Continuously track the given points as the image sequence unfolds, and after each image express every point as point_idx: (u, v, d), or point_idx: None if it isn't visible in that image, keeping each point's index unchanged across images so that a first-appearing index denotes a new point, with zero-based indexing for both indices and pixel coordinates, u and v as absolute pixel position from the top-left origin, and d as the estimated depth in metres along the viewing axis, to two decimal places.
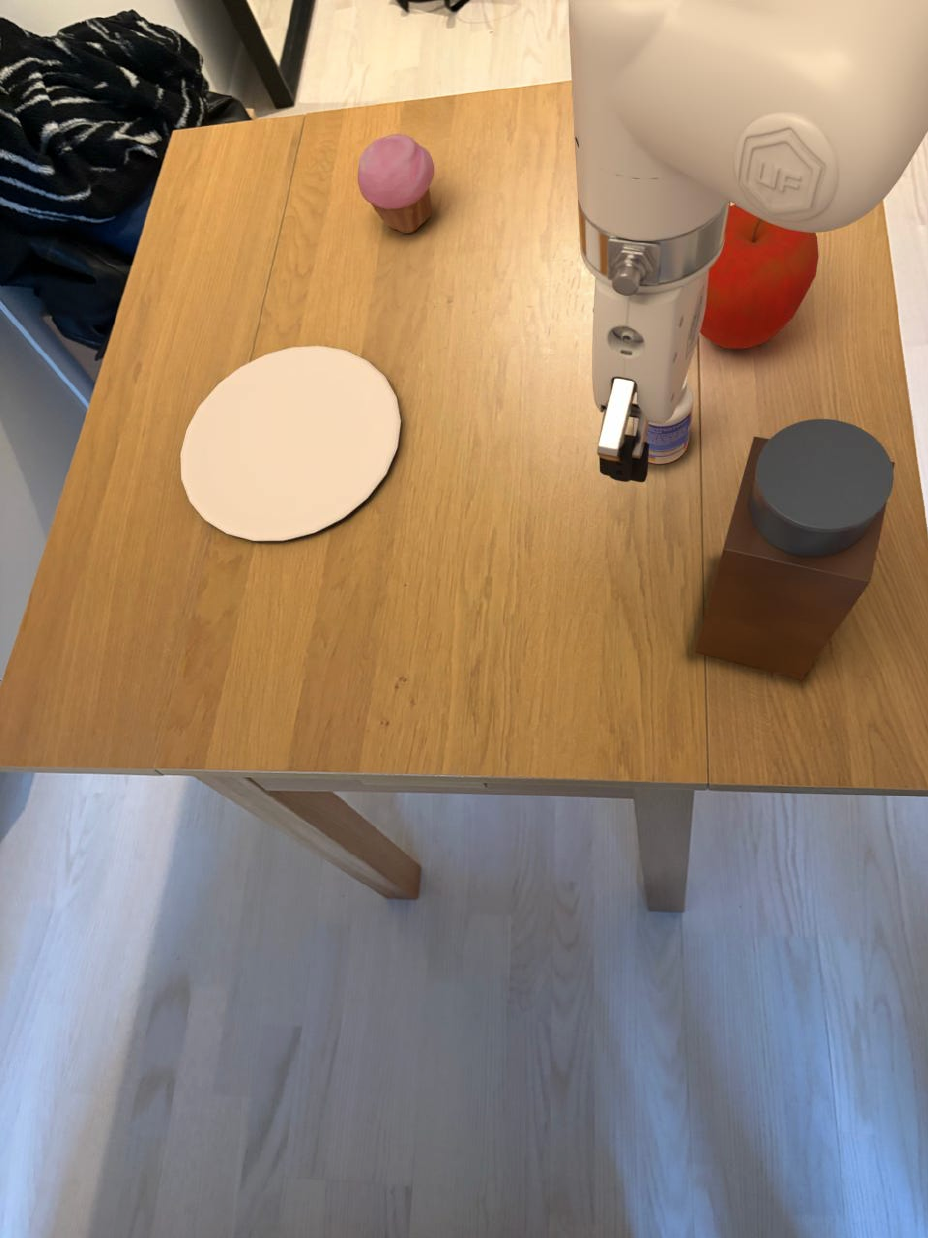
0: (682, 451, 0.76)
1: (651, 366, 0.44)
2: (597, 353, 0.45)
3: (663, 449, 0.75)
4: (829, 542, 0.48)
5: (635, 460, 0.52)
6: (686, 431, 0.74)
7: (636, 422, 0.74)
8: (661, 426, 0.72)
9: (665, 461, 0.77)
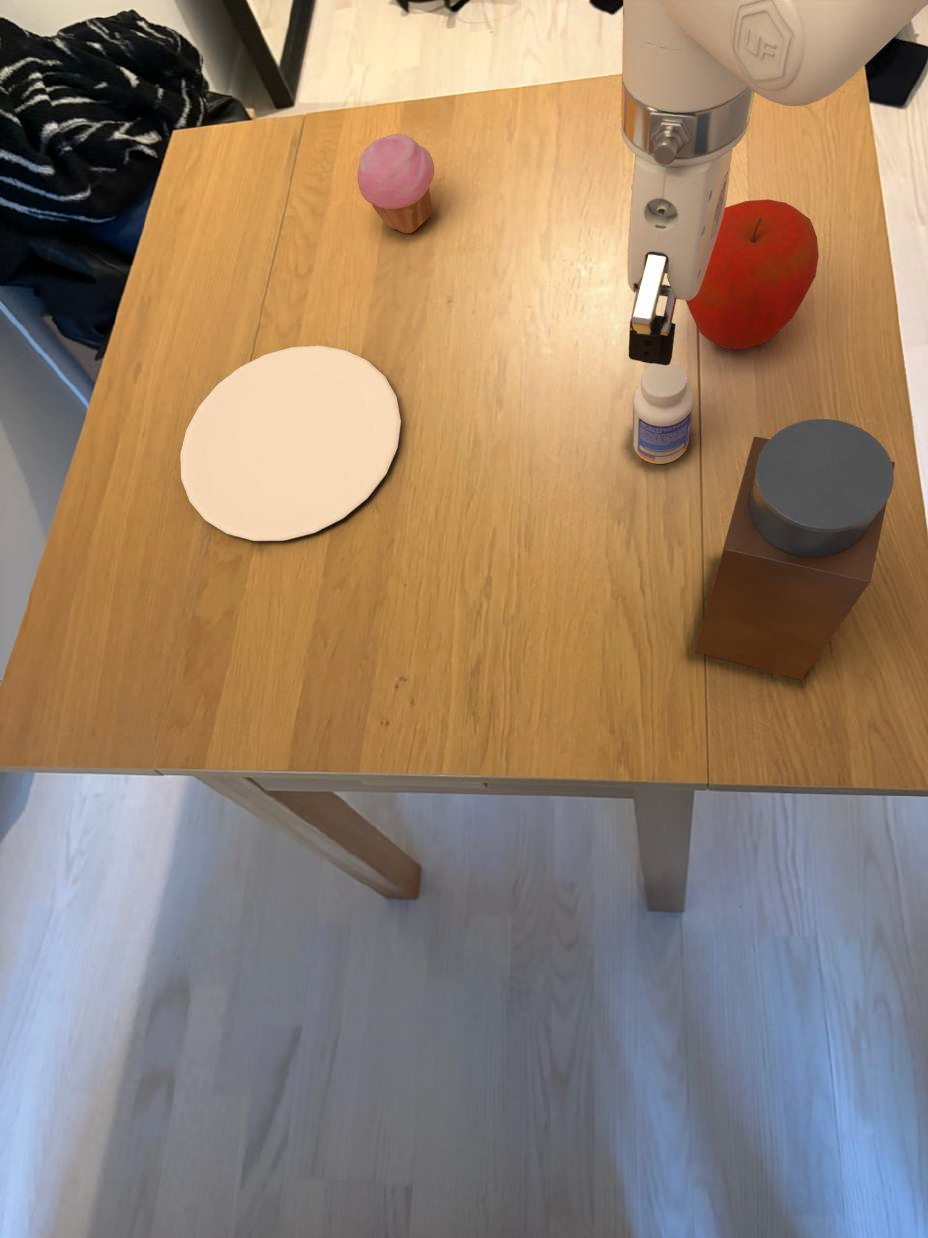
0: (682, 451, 0.76)
1: (682, 238, 0.50)
2: (634, 229, 0.50)
3: (663, 449, 0.75)
4: (829, 542, 0.48)
5: (662, 341, 0.58)
6: (686, 431, 0.74)
7: (636, 422, 0.74)
8: (661, 426, 0.72)
9: (665, 461, 0.77)
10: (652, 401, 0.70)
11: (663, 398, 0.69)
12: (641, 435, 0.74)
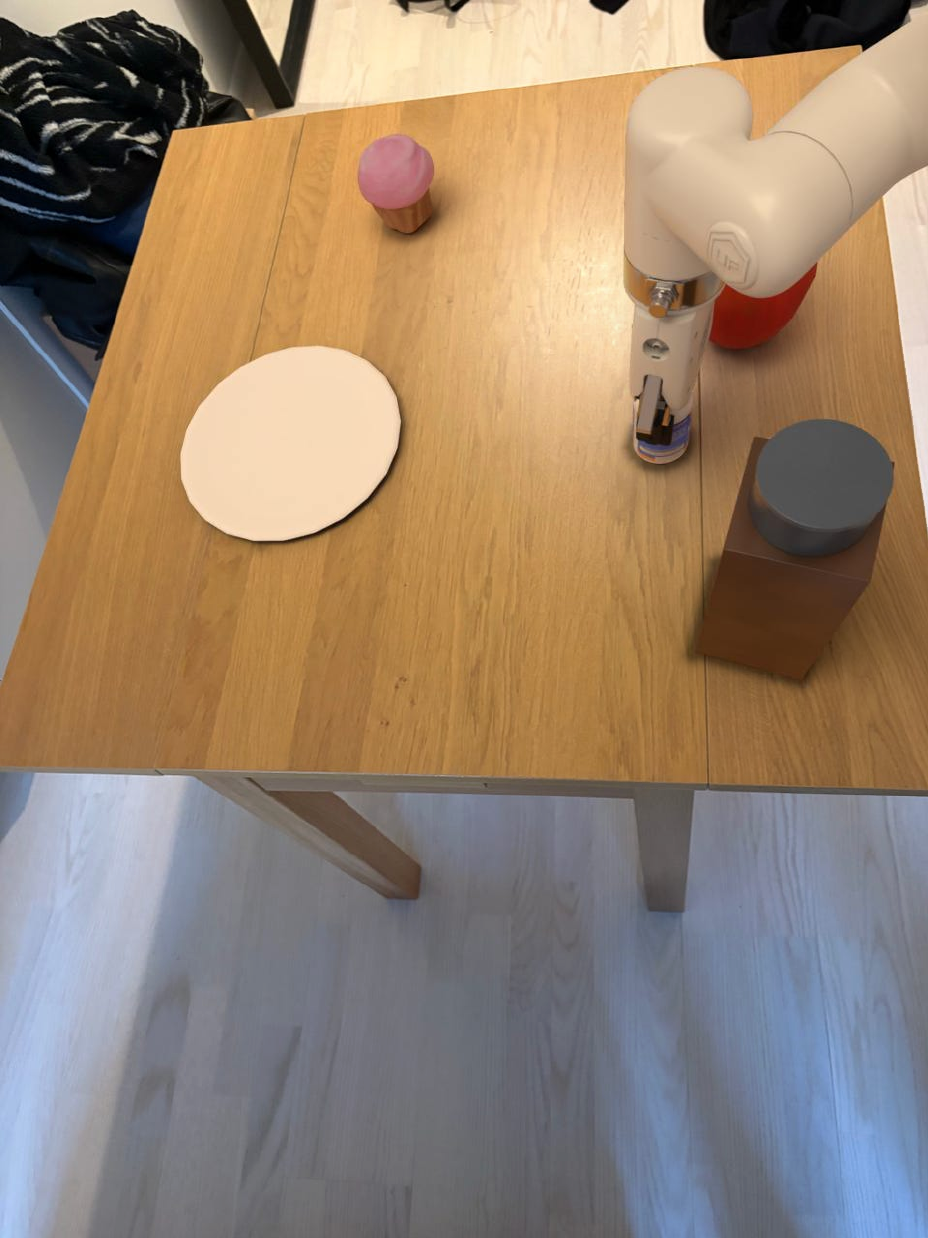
0: (682, 451, 0.76)
1: (674, 367, 0.61)
2: (634, 357, 0.62)
3: (663, 449, 0.75)
4: (829, 542, 0.48)
5: (663, 428, 0.71)
6: (686, 431, 0.74)
7: (636, 422, 0.74)
8: None
9: (665, 461, 0.77)
10: None
11: None
12: None
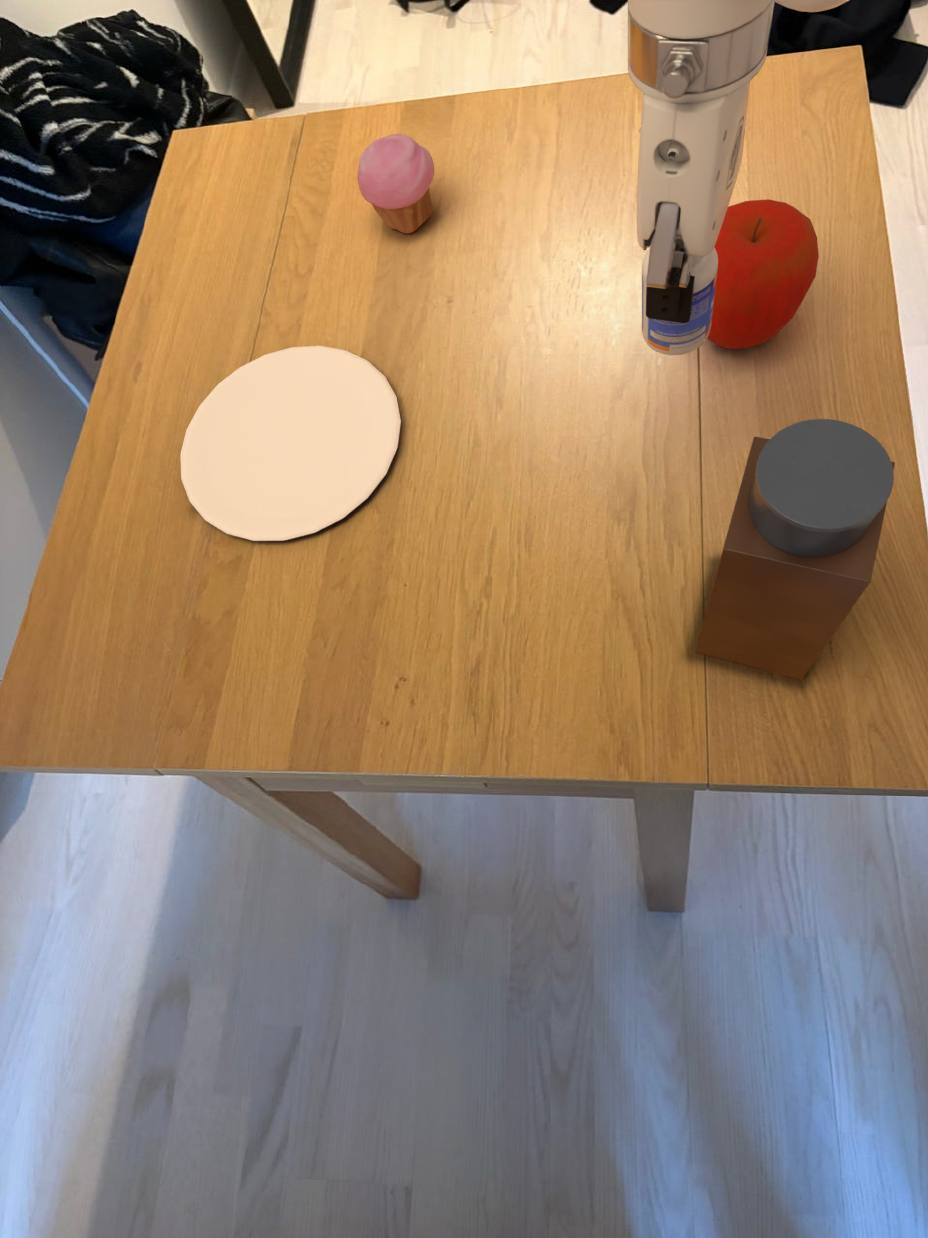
0: (703, 337, 0.62)
1: (695, 184, 0.46)
2: (643, 176, 0.47)
3: (680, 332, 0.60)
4: (829, 542, 0.48)
5: (680, 296, 0.56)
6: (708, 307, 0.59)
7: None
8: None
9: (682, 351, 0.62)
10: None
11: (680, 254, 0.54)
12: None
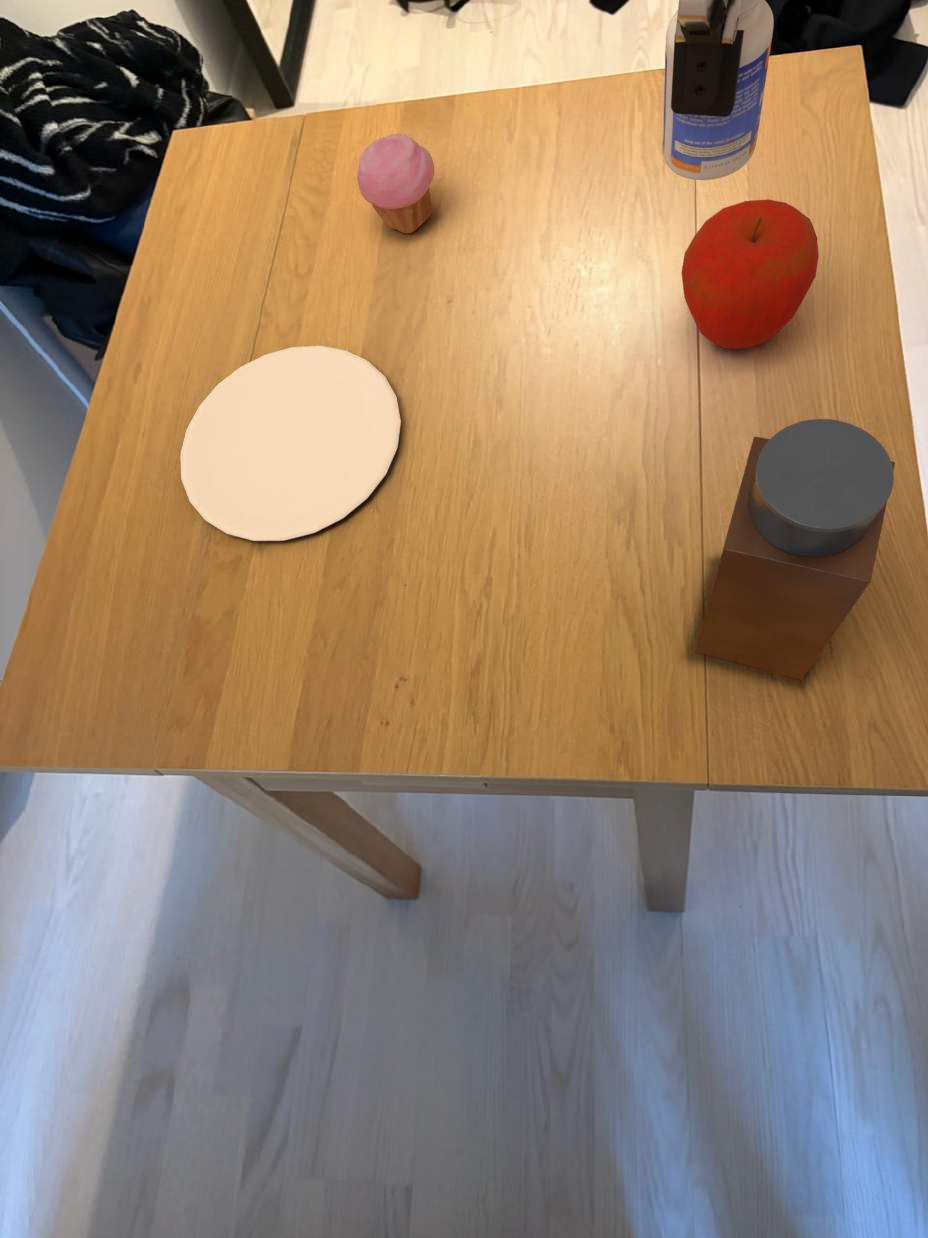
0: (747, 151, 0.45)
1: None
2: None
3: (716, 138, 0.44)
4: (829, 542, 0.48)
5: (722, 66, 0.39)
6: (757, 101, 0.43)
7: (670, 84, 0.43)
8: None
9: (717, 173, 0.46)
10: None
11: None
12: None
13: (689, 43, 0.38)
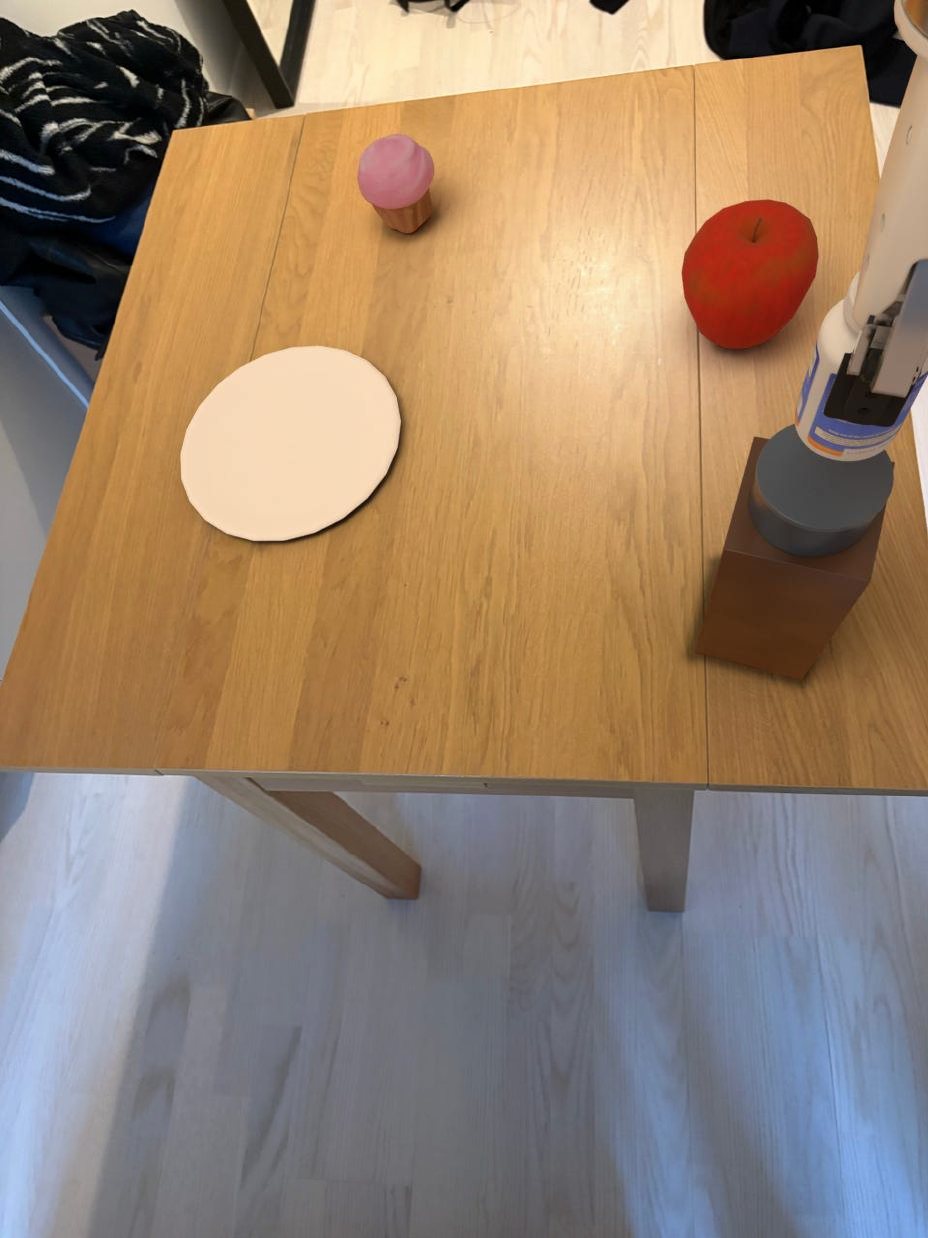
0: (893, 437, 0.42)
1: None
2: (901, 216, 0.27)
3: (866, 433, 0.40)
4: (829, 542, 0.48)
5: None
6: (914, 399, 0.39)
7: (820, 382, 0.39)
8: None
9: (860, 457, 0.42)
10: None
11: None
12: None
13: None
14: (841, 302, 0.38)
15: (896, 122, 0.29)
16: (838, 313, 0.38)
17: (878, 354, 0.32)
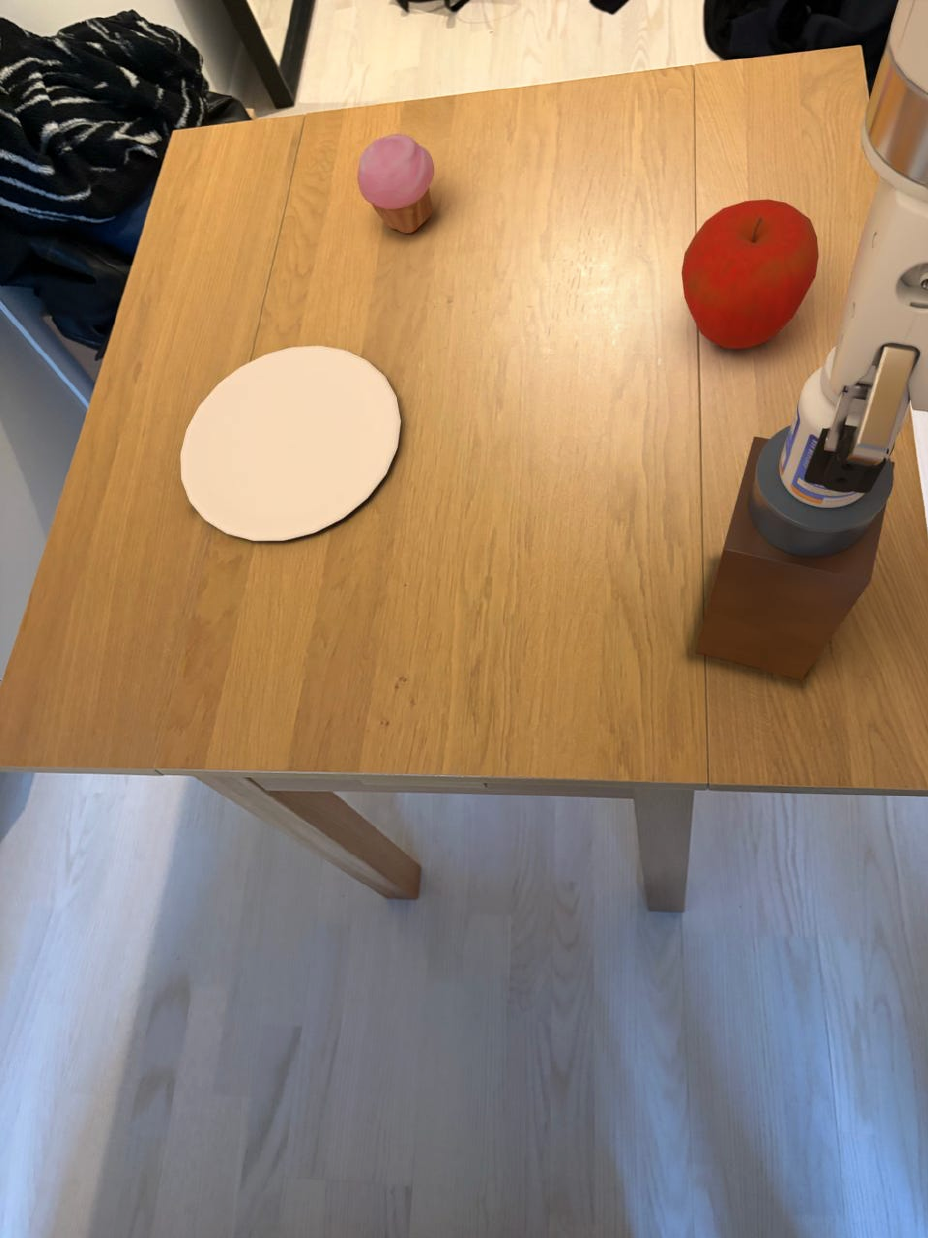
0: None
1: None
2: (869, 308, 0.31)
3: None
4: (829, 542, 0.48)
5: None
6: None
7: (801, 441, 0.43)
8: None
9: (838, 505, 0.46)
10: None
11: None
12: (808, 462, 0.44)
13: None
14: (819, 370, 0.42)
15: (866, 218, 0.33)
16: (816, 381, 0.42)
17: (851, 437, 0.34)
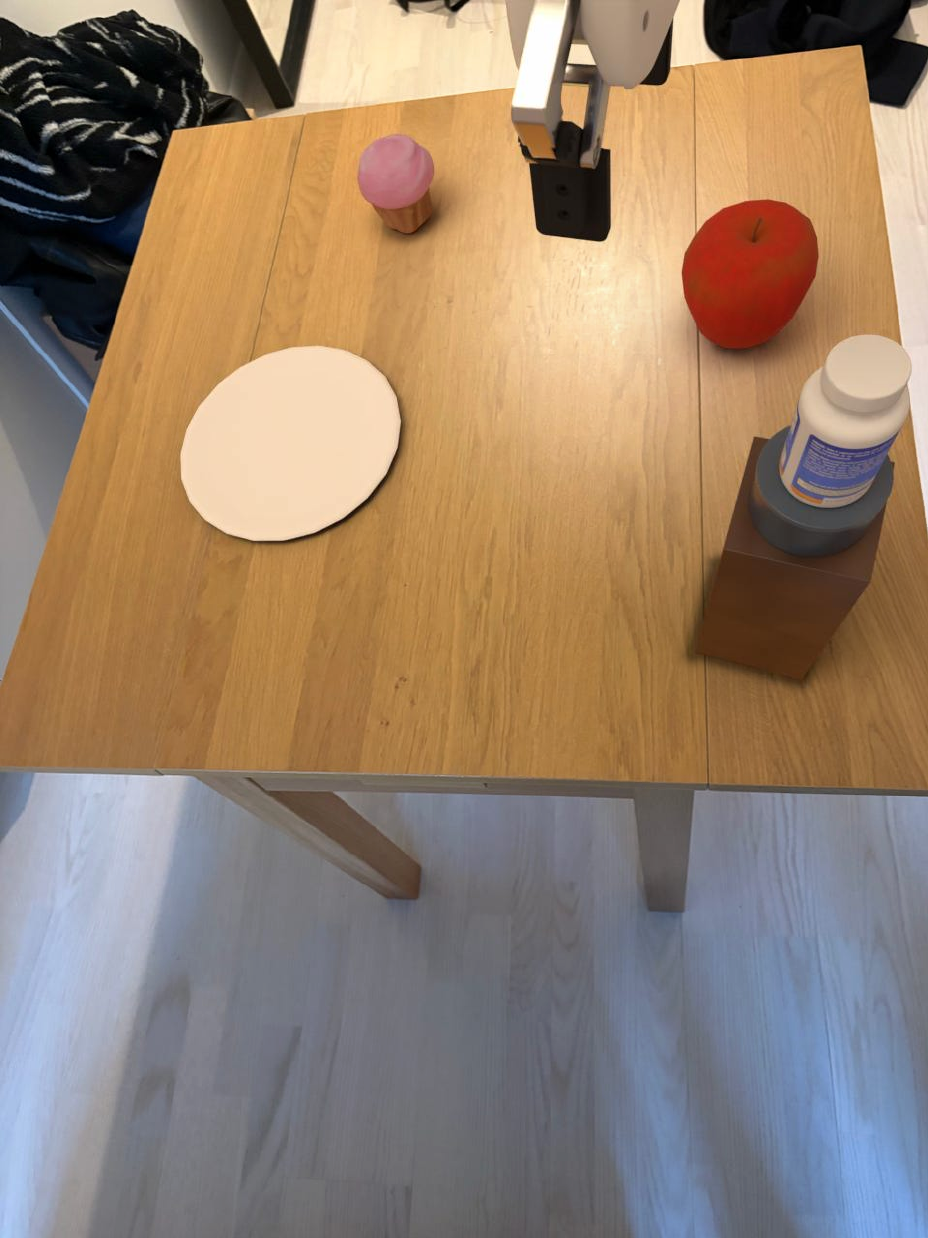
0: (868, 487, 0.46)
1: None
2: None
3: (843, 485, 0.45)
4: (829, 542, 0.48)
5: (589, 189, 0.32)
6: (885, 456, 0.44)
7: (801, 441, 0.43)
8: (854, 449, 0.41)
9: (838, 505, 0.46)
10: (846, 406, 0.40)
11: (869, 400, 0.39)
12: (808, 462, 0.44)
13: (543, 164, 0.31)
14: (819, 370, 0.42)
15: None
16: (816, 381, 0.42)
17: None
